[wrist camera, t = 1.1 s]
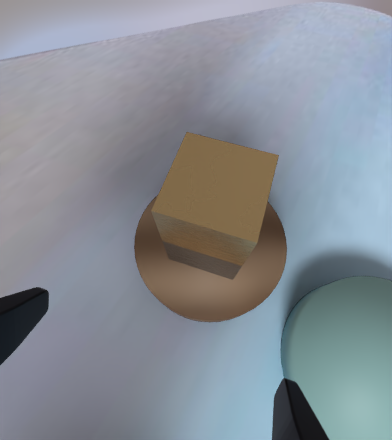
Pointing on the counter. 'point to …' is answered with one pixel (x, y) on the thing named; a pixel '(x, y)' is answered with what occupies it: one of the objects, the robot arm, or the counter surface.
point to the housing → (214, 203)
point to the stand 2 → (344, 356)
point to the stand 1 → (208, 282)
